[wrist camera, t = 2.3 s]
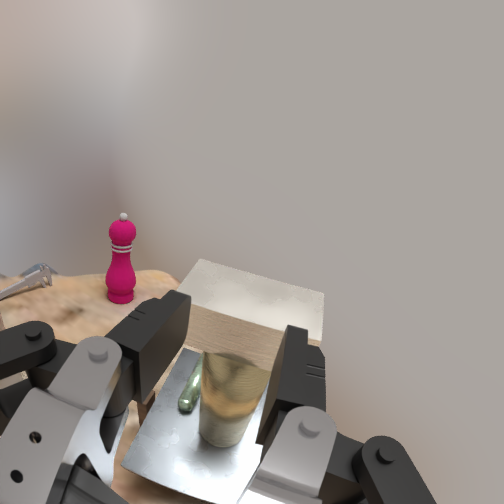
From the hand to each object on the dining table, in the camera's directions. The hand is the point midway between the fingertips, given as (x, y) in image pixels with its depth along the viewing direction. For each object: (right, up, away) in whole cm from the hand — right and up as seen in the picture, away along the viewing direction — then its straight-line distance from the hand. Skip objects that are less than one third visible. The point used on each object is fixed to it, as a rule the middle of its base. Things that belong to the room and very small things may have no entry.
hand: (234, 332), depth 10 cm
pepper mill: (-30, -8, +50) cm, 59 cm away
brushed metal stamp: (-3, -17, +17) cm, 24 cm away
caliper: (-53, -7, +37) cm, 65 cm away
